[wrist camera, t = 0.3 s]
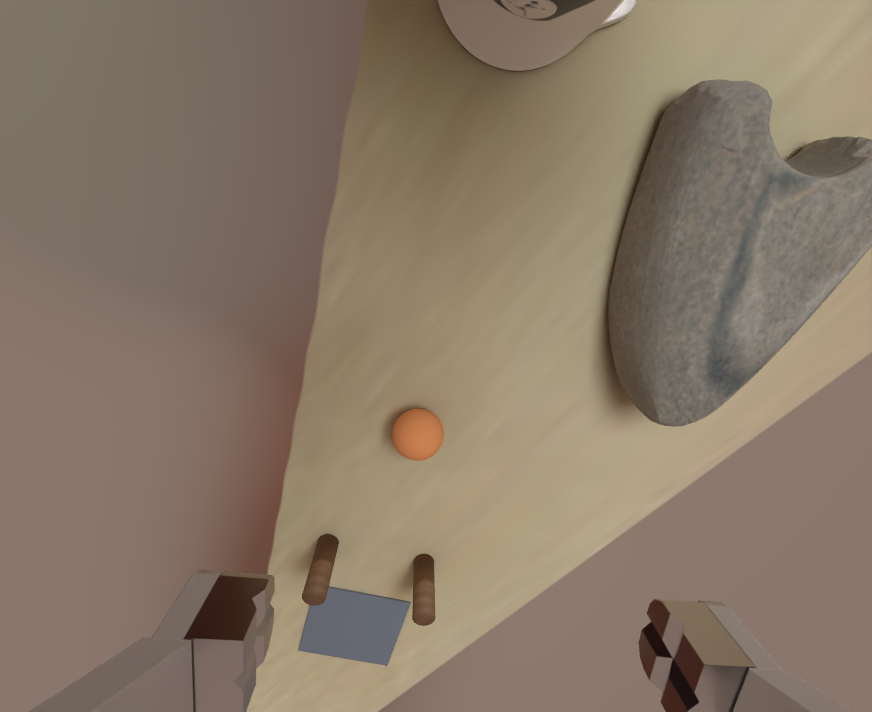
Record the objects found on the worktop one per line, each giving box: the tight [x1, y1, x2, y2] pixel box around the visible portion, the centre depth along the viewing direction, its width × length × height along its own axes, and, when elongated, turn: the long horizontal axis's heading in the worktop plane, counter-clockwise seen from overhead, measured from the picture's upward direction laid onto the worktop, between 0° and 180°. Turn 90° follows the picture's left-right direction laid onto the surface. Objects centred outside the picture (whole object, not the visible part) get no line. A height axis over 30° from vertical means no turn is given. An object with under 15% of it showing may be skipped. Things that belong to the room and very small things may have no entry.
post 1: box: [302, 534, 339, 606], centre depth 53 cm, size 3×3×8 cm
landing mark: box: [298, 587, 410, 666], centre depth 63 cm, size 13×13×1 cm
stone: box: [608, 80, 872, 426], centre depth 41 cm, size 28×10×20 cm
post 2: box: [412, 554, 435, 626], centre depth 55 cm, size 3×3×8 cm
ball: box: [392, 408, 444, 461], centre depth 48 cm, size 6×6×6 cm
